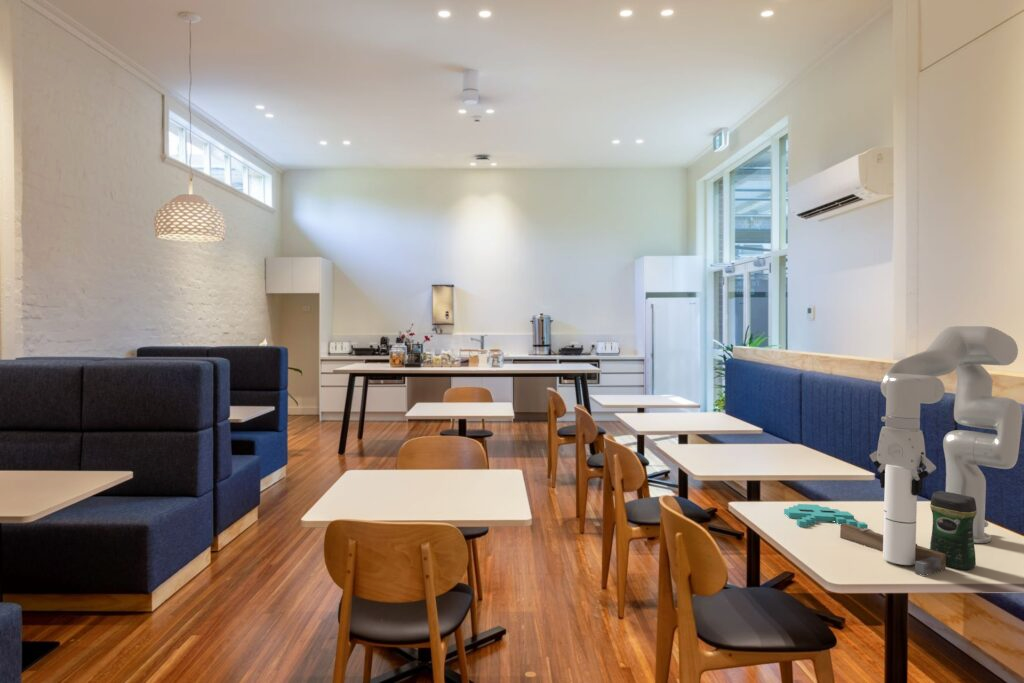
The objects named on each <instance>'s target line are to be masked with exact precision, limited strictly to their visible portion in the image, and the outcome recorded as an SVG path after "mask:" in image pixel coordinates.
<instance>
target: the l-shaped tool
mask: <svg viewBox="0 0 1024 683" xmlns="http://www.w3.org/2000/svg"><path fill="white" fill-rule="evenodd" d="M839 534H840V536H839V538H840V537H841V538H840V539H843V538H844V539H843V540H846V541H849V542H853V543H855V542H856V543H855V544H858V543H859V545H862V546H864V545H865V547H868V548H870V547H871V548H870V549H873V548H874V550H876V549H877V550H876V551H879V550H880V552H882V551H883V534H881V533H879V532H875V531H872V530H870V529H869V528H868V529H866V528H864V529H862V528H859V527H856V526H852V525H849V524H846V523H843V524H841V525H840V532H839ZM946 568H947V566H946V554H944V553H941V552H938V551H934V550H931V549H930V548H927V547H924V546H921V545H918V543H916V549H915V564H914V574H915V573H918V574H921V575H927V574H930V573H933V574H935V573H934V572H936V573H938V572H937V571H939V572H942V571H944V570H946ZM941 570H942V571H941ZM918 574H917V575H918ZM921 575H920V576H921ZM930 575H931V574H930ZM927 576H928V575H927Z"/></svg>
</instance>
